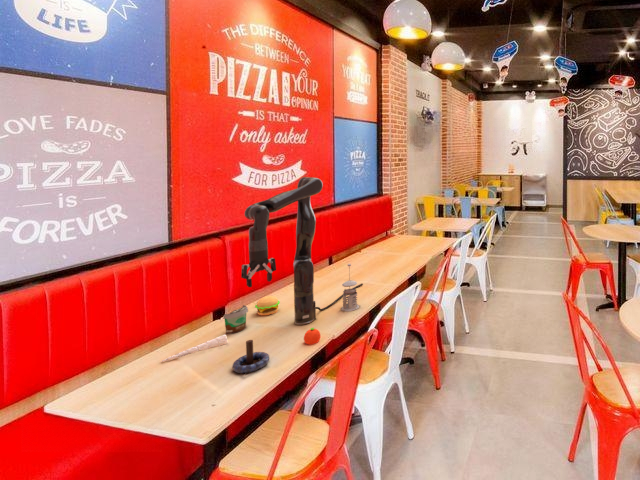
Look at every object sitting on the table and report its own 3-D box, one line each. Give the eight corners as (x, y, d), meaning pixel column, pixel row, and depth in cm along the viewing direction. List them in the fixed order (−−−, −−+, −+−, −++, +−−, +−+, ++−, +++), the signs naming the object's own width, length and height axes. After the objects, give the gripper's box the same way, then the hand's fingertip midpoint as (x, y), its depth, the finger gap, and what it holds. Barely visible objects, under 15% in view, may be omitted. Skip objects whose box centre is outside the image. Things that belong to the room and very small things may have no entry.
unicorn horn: (160, 359, 163) (160, 348, 163) (226, 342, 177) (226, 332, 177) (159, 364, 159) (159, 352, 159) (227, 346, 174) (227, 336, 174)
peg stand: (256, 361, 160) (255, 333, 160) (267, 367, 155) (266, 339, 155) (232, 371, 153) (232, 342, 153) (243, 378, 148) (242, 348, 148)
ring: (259, 354, 163) (258, 348, 163) (275, 362, 156) (275, 355, 156) (226, 368, 152) (226, 362, 152) (242, 377, 146) (242, 371, 146)
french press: (362, 304, 221) (361, 261, 220) (353, 312, 209) (352, 267, 209) (345, 304, 222) (344, 261, 221) (336, 312, 210) (335, 267, 210)
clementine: (304, 341, 177) (303, 326, 177) (320, 338, 180) (320, 323, 180) (303, 349, 170) (303, 333, 170) (320, 346, 172) (320, 330, 172)
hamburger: (257, 318, 204) (257, 302, 203) (253, 312, 213) (252, 296, 212) (282, 312, 211) (282, 296, 211) (276, 306, 220) (276, 291, 220)
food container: (234, 336, 184) (233, 315, 184) (223, 335, 185) (223, 314, 185) (254, 324, 196) (253, 305, 196) (244, 324, 197) (243, 304, 197)
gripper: (269, 244, 182) (270, 278, 183) (237, 251, 170) (238, 287, 171) (278, 246, 178) (279, 280, 178) (245, 253, 166) (247, 290, 167)
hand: (259, 284), depth 175 cm, fingers open, 8 cm apart
